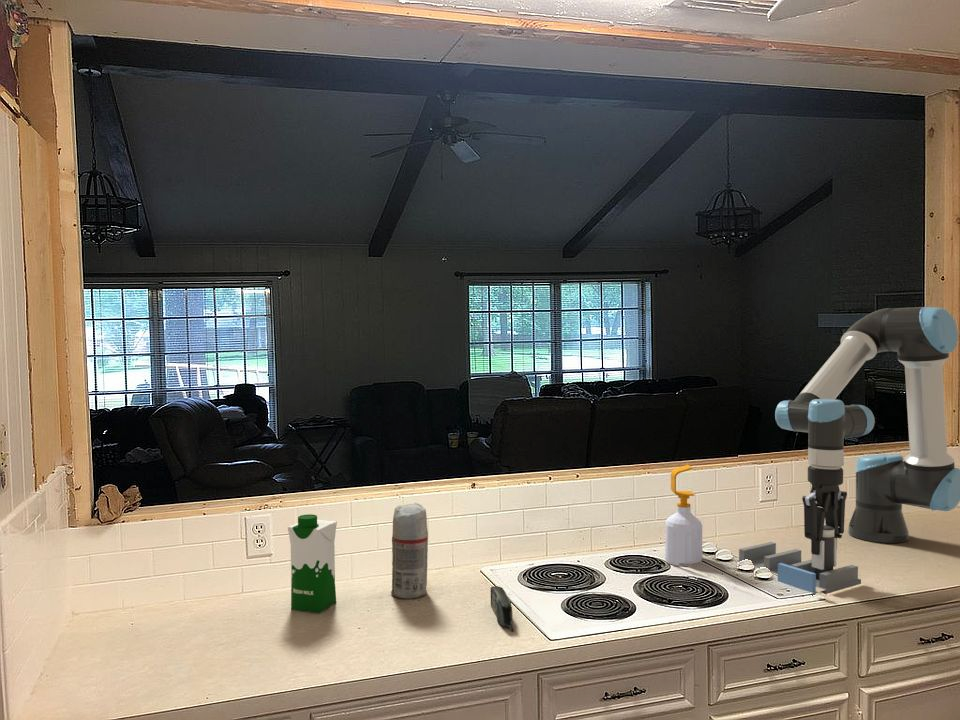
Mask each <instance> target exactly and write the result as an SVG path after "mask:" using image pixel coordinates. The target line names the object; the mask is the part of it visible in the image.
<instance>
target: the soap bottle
mask: <svg viewBox="0 0 960 720" xmlns="http://www.w3.org/2000/svg"><path fill="white" fill-rule="evenodd" d="M692 469H693V468H692V466H690V464H686V465H685V464H684V465H682V466H679V467H675V468H674V469H672V470H671V472H670V491H672V492H673V493H674V494H675V495H676V496H678V499H680V502H677V504H676V512H675V513H673V514H671V515H670V516H669V517H668V518H666V519H665V526H664V528H665V529H664V530H665V531H664V532H665V538H664V543H665V547H664V551H665V554H664V555H665V557H664V558H665V562H667V563H668V564H670V565H671V566H676V567H682V568H688V567H689V566H687V565H688V564H689V565H690V564H691V565H692V564H697V563H701V562H702V561H703V525H702V522H701V520H700V518H698V517H697V516H696V515H694V514H692V512H691V507H692V506H691V503H689V502H688V499H690V497H694V496H695V493H694V492H693V491H692V490H691V491H690V490H677V476H678V475H679V474H681V473H684V472H687V471H690V470H692ZM686 564H687V565H686Z"/></svg>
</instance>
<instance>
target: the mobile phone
mask: <svg viewBox="0 0 960 720" xmlns="http://www.w3.org/2000/svg"><path fill="white" fill-rule="evenodd" d="M490 606H491V609H492V610H493V612H494V615H495V616H496V621H497V623H498V624H499V625H501V626H502V627H507V628H509V629H510V631H512V632H515V628H514V627H513V607H512V600H510V597H509V596H508V595H507V592H506V591H505V590H504V588H503V587H501V586H497V585H496V586H495V585H494V586H493V585H492V586H490Z"/></svg>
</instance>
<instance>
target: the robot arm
mask: <svg viewBox="0 0 960 720" xmlns="http://www.w3.org/2000/svg"><path fill="white" fill-rule="evenodd" d="M958 331H959V330H958V326H957V323H956V320H955V318H954V317H953V315H952V314H951V313H950V312H949V311H948V310H947V309H945V308H943V307H933V306H932V307H931V306H919V307H898V308H897V307H896V308H893V307H891V308H890V307H889V308H888V307H886V308H881V309H878V310H875V311H873V312H871V313H869V314H868V313H867V314H866V315H864V316H863V317H862V318H860V319H859V320H857V321H855V322H854V324H852V325H851V326H850V327H849V328H848V329H847V330H846V331H845V332H844V333H843V335H842V336H841V338H840V344H839V346H838V347H837V348H836V349H835V351H834V352H833V353H832V354H831V355H830V357H828V359H827V360H826V361H825V363H824V364H823V365H822V366H821V367H820V368H819V370H818V371H817V372H816V373H815V375H814V376H813V377H812V378H811V379H810V380H809V382H808V383H807V384H806V385H805V386H804V388H803V389H802V390H801V392H800V393H799V394H798V395H797V396H796V397H795V399H794V400H791V399H788V400H782V401H780V402H779V403H778V404H777V406H776V408H775V411H774V412H775V413H774V417H775V422H776V424H777V426H778V427H780V429H782V430H787V431H793V432H801V433H807V434H808V441H807V442H808V444H807V445H808V447H807V449H808V451H807V463H808V464H809V466H808V467H807V482H808V483H810V484H811V488H810V491H809V494H808V495H803V496H801V497H802V498H801V501H802V503H803V513H804V514H803V515H804V516H803V518H804V519H803V520H804V521H803V522H804V523H803V525H804V526H803V527H804V528H803V529H804V533H803V534H804V538H807V539H809V540H810V541H811V542H810V543H811V544H810V545H811V547H810V551H811V552H810V553H811V560H812V567H814V568H818V569H821V570H823V569H824V541H822V535H823V528H824V525H826V526H831V527H833V528H834V560H833V568H835V567H837V551H838V539H842V537H843V534H844V532H845V515H846V513H845V512H846V500H847V497H848V492H847V491H844V490H840V487H839V486H841V485H843V484H844V469H843V468H842V467H843V466H844V464H845V463H844V462H845V461H844V459H845V458H844V457H845V455H844V453H845V452H844V451H845V449H844V444H845V443H844V442H845V440H844V439H847V438H860V437H862V436H865V435H868V434H869V433H870V432H872V430H873V429H874V427H875V423H876V421H875V416H874V414H873V412H872V410H871V409H870V408H869V407H867V406H865V405H863V404H862V405H861V404H850V405H845V403H844V402H843V400H841V399H837V397H838V396H839V395H840V394H841V393H842V391H843V390H844V389H845V388H846V386H847V385H848V384H849V383H850V381H851V380H852V379H853V378H854V376H855V375H856V374H857V373H858V371H859V370H860V369H861V368H862V366H863V365H864V364H865V363H866V361H870V360H872V359H873V358H875V357H876V356H877V354H878V353H885V352H892V353H893V352H897V361H898V362H899V363H900V364H902V365H903V366H904V375H905V391H906V392H905V393H906V409H907V410H906V411H907V424H908V425H907V428H908V443H909V444H908V445H909V453H908V454H907V455H905V457H903V456H902V454H896V453H895V454H894V453H889V454H888V453H887V454H885V453H883V454H867V455H861V456H860V457H858V458H857V460H856V465H855V471H854V473H855V507H854V510H853V512H852V516H851V518H850V520H849V524H848V531H847V532H848V533H847V534H849V535H850V536H852V537H854V538H856V539H859V540H863V541H867V542H875V543H881V542H882V543H883V544H898V543H899V542H900V543H905V542H908V541H909V536H910V535H909V534H910V532H909V529H908V526H907V522H906V520H905V517H904V513H903V505H908V506H913V507H918V508H923V509H928V510H931V511H940V512H942V511H943V512H950V511H952V510H954V509H955V508H956V507H957V506H958V505H959V503H960V468H959V467H956V466H955V458H954V457H952V456H951V455H950V454H949V453H948V447H947V446H948V444H947V442H948V441H947V425H946V407H945V389H944V387H945V386H944V369H943V365H944V363H946V362H947V360H949V358H950V353H953V352H954V351H955V349H956V348H957V345H958V342H957V341H958V340H959V333H958ZM907 540H908V541H907ZM904 541H905V542H904Z"/></svg>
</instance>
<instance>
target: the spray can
mask: <svg viewBox="0 0 960 720" xmlns="http://www.w3.org/2000/svg"><path fill="white" fill-rule="evenodd" d="M427 516H428V515H427V510H426V508H425V507H424V506H423V505H422V504H420V503H418V502H413V503H406V504H402V505H401V504H399V505H397V506H396V507H395V508H394V510H393V516H392V534H391V535H392V537H391V551H392V552H391V553H392V557H391V559H392V561H391V566H392V568H391V569H392V572H391V592H390V595H392V596H394V597H396V598H399V599H408V600H410V599H417V598H421V597H424V596H425V595H426V594H427V593H428V591H427V584H428V554H429V553H428V551H429V550H428V546H429V545H428V543H429V531H428V519H427V518H428V517H427Z"/></svg>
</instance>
